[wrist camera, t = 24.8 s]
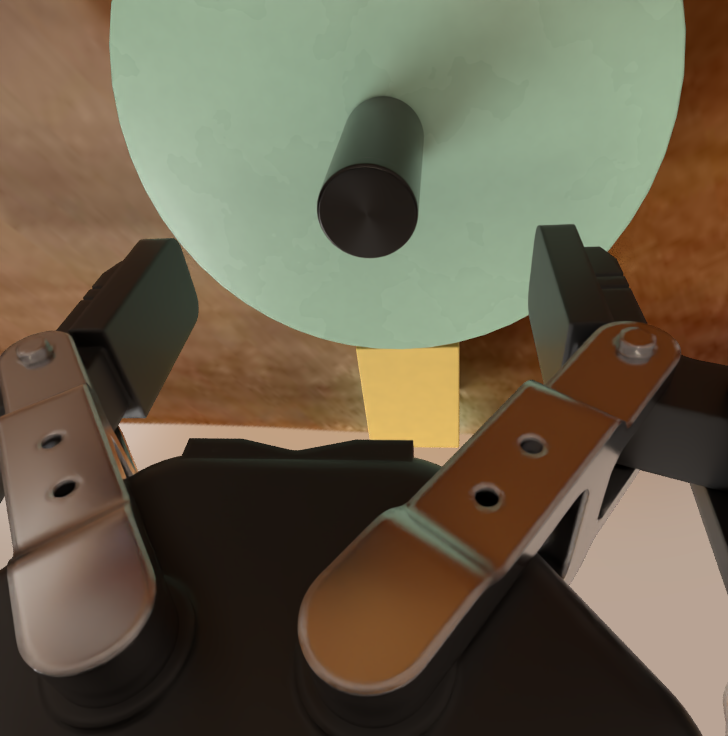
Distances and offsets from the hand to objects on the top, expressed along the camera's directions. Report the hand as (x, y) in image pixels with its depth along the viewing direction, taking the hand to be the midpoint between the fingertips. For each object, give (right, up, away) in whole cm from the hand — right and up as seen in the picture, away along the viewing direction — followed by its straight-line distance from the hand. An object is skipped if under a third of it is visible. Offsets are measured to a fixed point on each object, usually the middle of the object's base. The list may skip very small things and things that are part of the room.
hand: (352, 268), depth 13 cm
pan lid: (+1, +5, +4) cm, 7 cm away
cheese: (+3, -1, +16) cm, 17 cm away
